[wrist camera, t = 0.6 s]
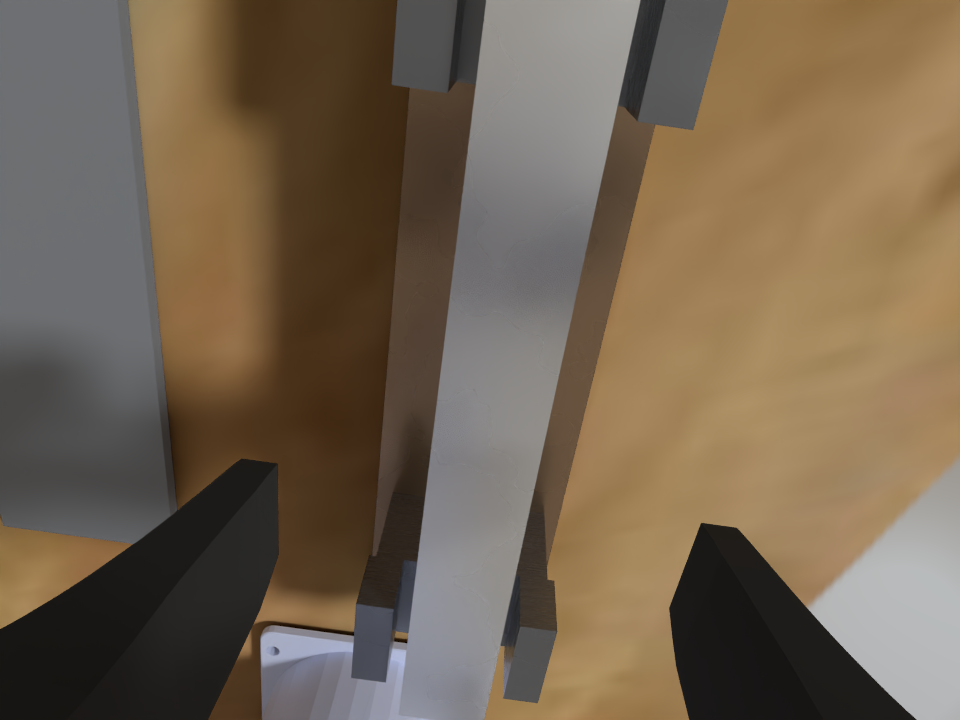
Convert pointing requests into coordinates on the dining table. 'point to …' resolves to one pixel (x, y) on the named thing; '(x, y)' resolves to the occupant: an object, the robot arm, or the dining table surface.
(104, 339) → the mat
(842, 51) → the dining table surface
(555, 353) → the rail
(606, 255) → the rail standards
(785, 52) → the dining table surface
